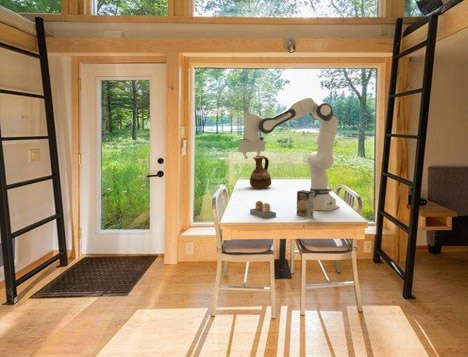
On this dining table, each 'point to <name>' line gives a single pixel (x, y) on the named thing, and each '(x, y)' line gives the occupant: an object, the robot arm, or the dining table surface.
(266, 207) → the cream egg
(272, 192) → the dining table surface
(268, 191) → the dining table surface
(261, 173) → the ceramic pitcher
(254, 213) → the egg carton
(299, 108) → the robot arm
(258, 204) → the brown rounded oval piece
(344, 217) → the dining table surface
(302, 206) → the coffee box
